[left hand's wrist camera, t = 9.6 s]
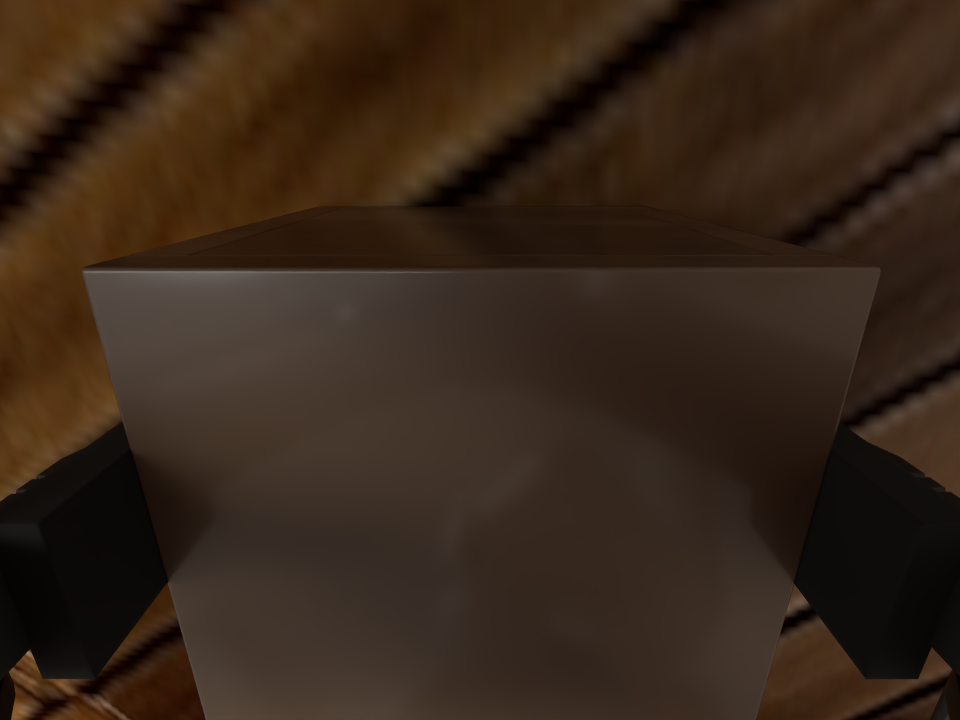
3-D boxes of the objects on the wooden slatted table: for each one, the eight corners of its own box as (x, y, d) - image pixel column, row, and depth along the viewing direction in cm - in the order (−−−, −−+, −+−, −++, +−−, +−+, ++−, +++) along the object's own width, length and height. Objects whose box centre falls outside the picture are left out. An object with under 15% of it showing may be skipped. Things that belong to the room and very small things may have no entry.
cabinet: (605, 582, 23) (703, 915, 13) (357, 581, 23) (258, 914, 13) (646, 206, 17) (884, 266, 7) (316, 206, 17) (76, 267, 7)
